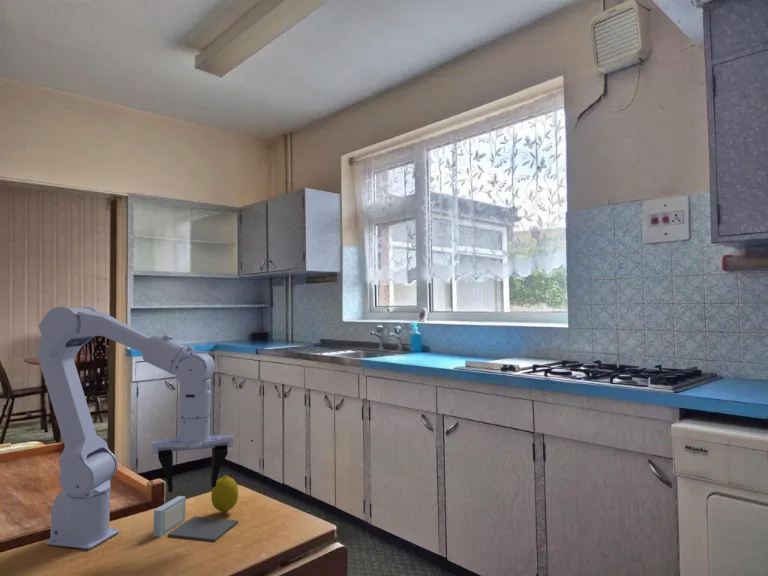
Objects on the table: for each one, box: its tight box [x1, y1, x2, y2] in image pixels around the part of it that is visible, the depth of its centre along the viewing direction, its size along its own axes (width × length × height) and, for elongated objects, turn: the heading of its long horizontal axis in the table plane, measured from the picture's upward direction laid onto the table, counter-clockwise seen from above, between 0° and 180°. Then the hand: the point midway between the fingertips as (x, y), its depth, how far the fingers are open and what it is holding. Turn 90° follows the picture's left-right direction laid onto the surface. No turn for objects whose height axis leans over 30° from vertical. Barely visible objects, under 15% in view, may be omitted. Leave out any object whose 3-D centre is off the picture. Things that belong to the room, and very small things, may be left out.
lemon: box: [210, 475, 239, 514], centre depth 111 cm, size 6×6×8 cm
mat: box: [167, 515, 239, 542], centre depth 103 cm, size 10×9×1 cm
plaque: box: [152, 495, 187, 538], centre depth 103 cm, size 2×8×5 cm, turn 168°
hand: (192, 488), depth 99 cm, fingers open, 7 cm apart
